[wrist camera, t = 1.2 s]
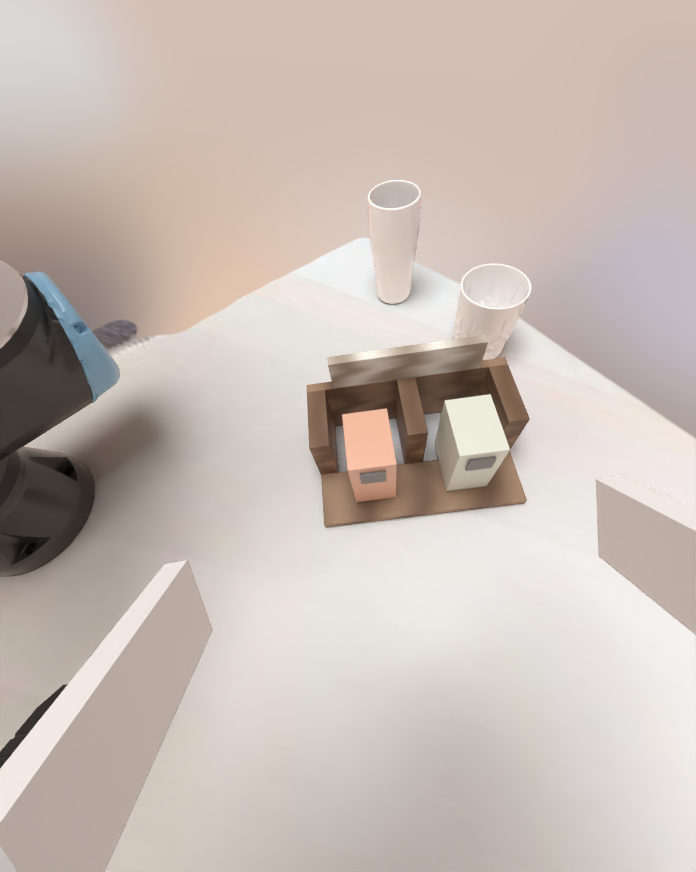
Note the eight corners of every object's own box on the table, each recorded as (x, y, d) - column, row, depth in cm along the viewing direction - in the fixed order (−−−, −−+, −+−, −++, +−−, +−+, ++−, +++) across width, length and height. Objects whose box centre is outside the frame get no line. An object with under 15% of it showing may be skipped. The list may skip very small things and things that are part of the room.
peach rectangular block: (356, 504, 40) (348, 473, 32) (351, 454, 43) (342, 414, 35) (395, 500, 40) (397, 467, 32) (387, 449, 43) (386, 408, 35)
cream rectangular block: (446, 493, 39) (460, 459, 31) (434, 443, 42) (444, 400, 34) (487, 488, 39) (511, 452, 31) (472, 438, 42) (490, 394, 34)
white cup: (508, 327, 51) (532, 265, 43) (505, 370, 48) (531, 312, 39) (452, 322, 53) (464, 261, 44) (445, 363, 50) (457, 305, 41)
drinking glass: (363, 295, 58) (355, 196, 45) (393, 274, 59) (393, 173, 46) (393, 315, 55) (394, 216, 42) (424, 292, 57) (433, 190, 44)
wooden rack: (325, 527, 40) (302, 490, 30) (319, 421, 47) (298, 361, 37) (523, 503, 39) (571, 456, 29) (487, 398, 46) (515, 330, 36)
